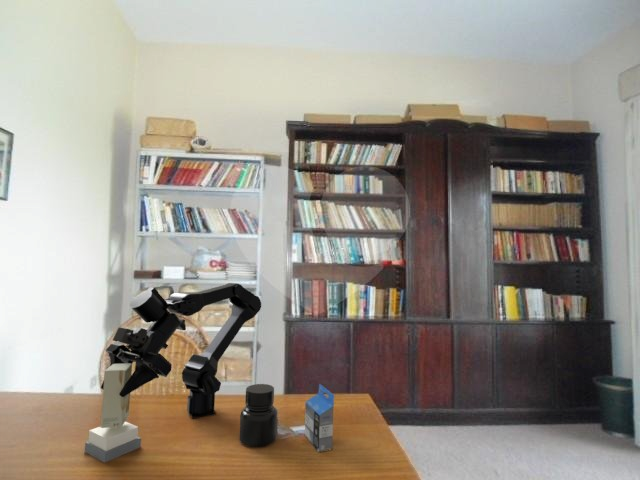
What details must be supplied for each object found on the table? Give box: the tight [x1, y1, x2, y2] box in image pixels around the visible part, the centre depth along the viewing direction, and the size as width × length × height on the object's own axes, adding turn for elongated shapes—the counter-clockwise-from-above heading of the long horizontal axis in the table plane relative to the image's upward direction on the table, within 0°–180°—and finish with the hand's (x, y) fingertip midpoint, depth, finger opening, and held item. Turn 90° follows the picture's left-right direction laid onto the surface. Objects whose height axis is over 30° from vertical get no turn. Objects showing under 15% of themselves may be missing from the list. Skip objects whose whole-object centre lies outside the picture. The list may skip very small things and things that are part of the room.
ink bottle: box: [238, 383, 279, 448], centre depth 88 cm, size 10×9×12 cm
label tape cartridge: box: [304, 383, 335, 453], centre depth 87 cm, size 9×4×12 cm, turn 24°
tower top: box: [87, 420, 139, 451], centre depth 81 cm, size 7×7×2 cm
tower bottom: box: [84, 436, 142, 463], centre depth 81 cm, size 8×8×2 cm
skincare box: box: [100, 363, 133, 428], centre depth 82 cm, size 6×4×12 cm
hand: (111, 392), depth 81 cm, fingers closed on skincare box, 7 cm apart
